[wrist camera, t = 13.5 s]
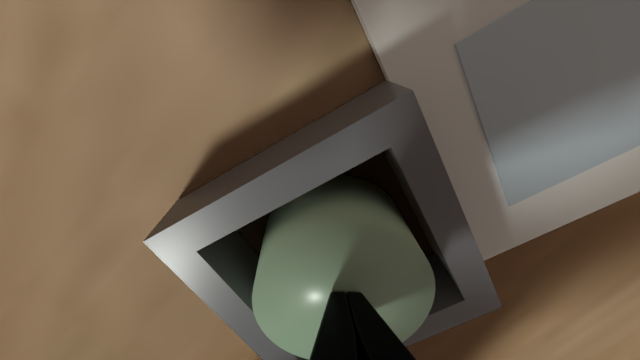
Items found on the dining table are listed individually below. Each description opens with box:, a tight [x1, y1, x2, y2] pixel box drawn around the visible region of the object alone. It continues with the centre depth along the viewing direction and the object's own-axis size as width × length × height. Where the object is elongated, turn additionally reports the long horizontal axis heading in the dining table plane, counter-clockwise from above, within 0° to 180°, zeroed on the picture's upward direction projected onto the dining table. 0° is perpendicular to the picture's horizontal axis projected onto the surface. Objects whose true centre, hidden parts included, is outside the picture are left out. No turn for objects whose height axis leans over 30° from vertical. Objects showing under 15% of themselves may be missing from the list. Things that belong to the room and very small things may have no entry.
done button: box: [252, 175, 435, 360], centre depth 9 cm, size 5×5×3 cm
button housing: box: [143, 80, 502, 360], centre depth 10 cm, size 8×8×2 cm
